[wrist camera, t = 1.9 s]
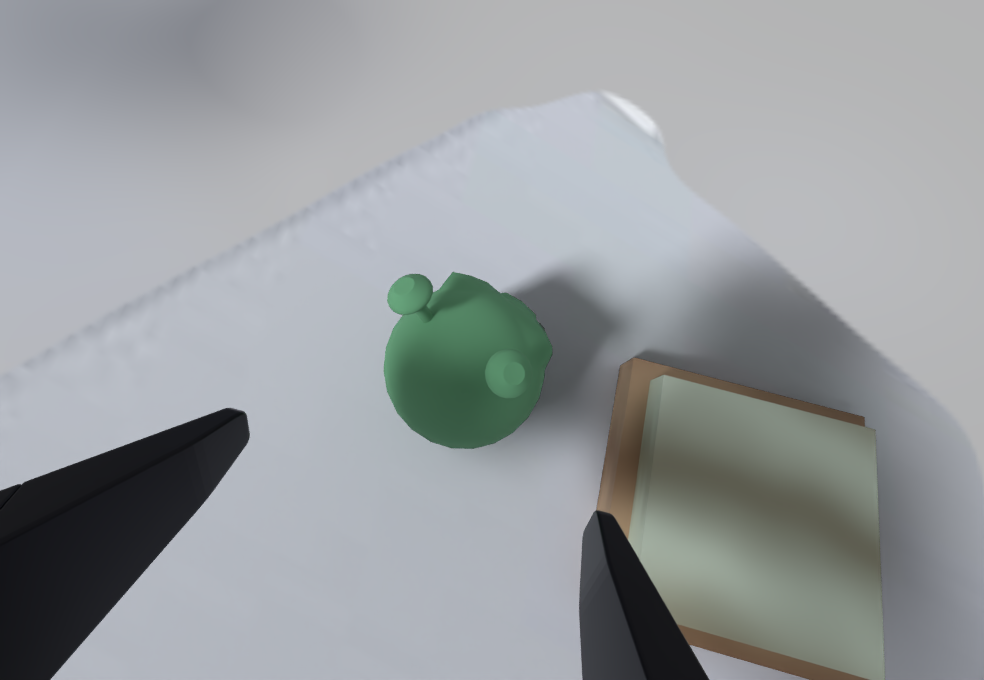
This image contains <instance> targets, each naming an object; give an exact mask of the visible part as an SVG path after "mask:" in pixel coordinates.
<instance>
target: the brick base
mask: <svg viewBox="0 0 984 680" xmlns="http://www.w3.org/2000/svg"><path fill="white" fill-rule="evenodd" d="M596 510H600V511H604V512H607V513H610V514H612V515H613V516H614V517H615V518H616V520H617V522H618V524H619V525H620V527H621V529H622V530H623V532H624V534H625V536H626V537H627V539H628V541H629V542H630V544H631V546H632V548H633V549H634V551H635V553H636V554H637V556H638V558H639V560H640V561H641V563H642V565H643V567H644V568H645V570H646V572H647V573H648V575H649V577H650V579H651V580H652V582H653V584H654V585H655V587H656V589H657V591H658V592H659V594H660V596H661V597H662V599H663V601H664V603H665V604H666V606H667V608H668V609H669V611H670V613H671V615H672V616H673V618H674V620H675V622H676V623H677V625H678V627H679V628H680V630H681V632H682V634H683V635H684V637H685V639H686V640H687V642H688V644H689V645H693V646H696V647H699V648H703V649H706V650H710V651H713V652H717V653H720V654H723V655H727V656H730V657H734V658H737V659H741V660H744V661H748V662H751V663H754V664H758V665H761V666H765V667H768V668H772V669H775V670H779V671H782V672H785V673H789V674H792V675H796V676H799V677H803V678H806V679H809V680H885V663H884V638H883V612H882V587H881V562H880V537H879V511H878V486H877V461H876V436H875V430H874V429H871V428H867V427H865V420H864V417H862V416H858V415H854V414H851V413H847V412H843V411H839V410H835V409H831V408H827V407H824V406H820V405H816V404H812V403H808V402H804V401H800V400H797V399H793V398H789V397H785V396H781V395H777V394H773V393H769V392H766V391H762V390H758V389H754V388H750V387H746V386H742V385H739V384H735V383H731V382H727V381H723V380H719V379H715V378H712V377H708V376H704V375H700V374H696V373H692V372H688V371H685V370H681V369H677V368H673V367H669V366H665V365H661V364H658V363H654V362H650V361H646V360H642V359H638V358H632V359H631V360H629V361H627V362H626V363H624V364H622V365H621V366H620V370H619V376H618V382H617V388H616V394H615V400H614V406H613V412H612V418H611V424H610V430H609V437H608V443H607V449H606V455H605V461H604V467H603V473H602V479H601V485H600V491H599V497H598V503H597V509H596Z"/></svg>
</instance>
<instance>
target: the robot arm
mask: <svg viewBox="0 0 984 680" xmlns="http://www.w3.org/2000/svg"><path fill="white" fill-rule="evenodd" d="M249 437H250V433H249V426H248V420H247V415H246V413H245V412H244V411H241V410H237V409H233V408H225V409H222V410H220V411H217V412H214V413H211V414H209V415H206V416H203V417H201V418H198V419H195V420H192V421H190V422H187V423H184V424H181V425H179V426H176V427H173V428H171V429H168V430H165V431H162V432H160V433H157V434H154V435H151V436H149V437H146V438H143V439H141V440H138V441H135V442H132V443H130V444H127V445H124V446H121V447H119V448H116V449H113V450H111V451H108V452H105V453H102V454H100V455H97V456H94V457H91V458H89V459H86V460H83V461H81V462H78V463H75V464H72V465H70V466H67V467H64V468H61V469H59V470H56V471H53V472H50V473H48V474H45V475H42V476H40V477H37V478H34V479H31V480H29V481H26V482H24V483H23V484H22V485H21V484H18V485H15V486H12V487H9V488H7V489H4V490H1V491H0V680H50V679H51V678H52V677H53V676H54V675H55V674H56V672H57V671H58V670H59V669H60V668H61V667H62V666H63V664H64V663H65V662H66V661H67V660H68V659H69V657H70V656H71V655H72V654H73V653H74V652H75V651H76V649H77V648H78V647H79V646H80V645H81V644H82V643H83V641H84V640H85V639H86V638H87V637H88V636H89V634H90V633H91V632H92V631H93V630H94V629H95V628H96V626H97V625H98V624H99V623H100V622H101V621H102V620H103V618H104V617H105V616H106V615H107V614H108V613H109V611H110V610H111V609H112V608H113V607H114V606H115V605H116V603H117V602H118V601H119V600H120V599H121V598H122V597H123V595H124V594H125V593H126V592H127V591H128V590H129V588H130V587H131V586H132V585H133V584H134V583H135V582H136V580H137V579H138V578H139V577H140V576H141V575H142V574H143V572H144V571H145V570H146V569H147V568H148V567H149V565H150V564H151V563H152V562H153V561H154V560H155V559H156V557H157V556H158V555H159V554H160V553H161V552H162V551H163V549H164V548H165V547H166V546H167V545H168V544H169V542H170V541H171V540H172V539H173V538H174V537H175V536H176V534H177V533H178V532H179V531H180V530H181V529H182V528H183V526H184V525H185V524H186V523H187V522H188V521H189V519H190V518H191V517H192V516H193V515H194V514H195V513H196V511H197V510H198V509H199V508H200V507H201V506H202V504H203V503H204V502H205V501H206V500H207V498H208V497H209V496H210V494H211V493H212V492H213V491H214V489H215V488H216V486H217V485H218V484H219V482H220V481H221V479H222V478H223V477H224V475H225V474H226V472H227V471H228V470H229V468H230V467H231V466H232V464H233V463H234V461H235V460H236V459H237V457H238V456H239V454H240V453H241V452H242V450H243V449H244V447H245V446H246V445H247V443H248V440H249ZM579 618H580V638H581V658H582V677H583V680H709V678H708V677H707V675H706V673H705V671H704V670H703V668H702V666H701V665H700V663H699V661H698V659H697V658H696V656H695V654H694V652H693V651H692V649H691V647H690V646H689V644H688V642H687V640H686V639H685V637H684V635H683V634H682V632H681V630H680V628H679V627H678V625H677V623H676V622H675V620H674V618H673V616H672V615H671V613H670V611H669V609H668V608H667V606H666V604H665V603H664V601H663V599H662V597H661V596H660V594H659V592H658V591H657V589H656V587H655V585H654V584H653V582H652V580H651V579H650V577H649V575H648V573H647V572H646V570H645V568H644V567H643V565H642V563H641V561H640V560H639V558H638V556H637V554H636V553H635V551H634V549H633V548H632V546H631V544H630V542H629V541H628V539H627V537H626V536H625V534H624V532H623V530H622V529H621V527H620V525H619V524H618V522H617V520H616V518H615V517H614V516H613V515H612V514H610V513H607V512H604V511H600V510H596V511H595V512H594V513H593V515H592V517H591V519H590V520H589V522H588V524H587V526H586V528H585V530H584V533H583V540H582V559H581V578H580V598H579Z"/></svg>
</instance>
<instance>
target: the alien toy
mask: <svg viewBox="0 0 984 680" xmlns="http://www.w3.org/2000/svg"><path fill="white" fill-rule="evenodd" d="M387 301H388V304H389V307H390V308H391V309H392V310H393V311H394V312H395V313H398V314H401V315H403V316H402V317H401V319H400V320H399V321H398V323H397V324H396V325H395V327H394V328H393V331H392V333H391V336H390V339H389V341H388V344H387V346H386V352H385V362H384V375H385V381H386V387H387V392H388V394H389V396H390V399H391V401H392V403H393V405H394V407H395V409H396V411H397V413H398V414H399V416H400V417H401V418H402V419H403V420H404V421H405V422H406V423H407V425H408V426H409V427H410V428H411V429H412V430H413V431H415V432H417V433H418V434H420V435H421V436H423V437H424V438H426V439H427V440H429V441H431V442H433V443H436V444H440V445H443V446H446V447H449V448H465V449H474V448H478V447H482V446H486V445H490V444H494V443H496V442H497V441H499V440H501V439H503V438H504V437H506V436H508V435H510V434H511V433H513V432H514V431H515V430H516V429H517V428H518V427H519V426H520V425H521V424H522V423H523V422H524V421H525V420H526V419H527V418H528V417H529V415H530V413H531V412H532V410H533V408H534V406H535V404H536V403H537V401H538V399H539V397H540V393H541V389H542V385H543V381H544V376H545V374H544V370H545V368H546V366H547V364H548V362H549V360H550V358H551V356H552V345H551V343H550V341H549V339H548V337H547V335H546V332H545V330H544V327H543V326H542V325H541V324H540V323H538V322H537V320H536V315H535V314H534V313H533V312H532V311H531V310H530V309H529V308H528V307H527V306H526V305H525V304H524V303H523V302H522V301H520V300H518V299H516V298H515V297H513V296H511V295H509V294H508V293H499V292H498V291H497V290H496V289H494V288H493V287H492V286H491V285H490V284H489V283H487V282H485V281H482V280H480V279H477V278H475V277H472V276H469V275H465V274H460V273H455V272H452V274H451V275H450V276H449V277H448V279H447V280H446V281H445V283H444V284H443V285H442V286H441V288H440V289H439V290H437V291H435V292H433V286H432V284H431V282H430V280H429V279H428V278H426V277H425V276H423V275H420V274H409V275H405V276H403V277H401V278H399V279H398V280H397V281H396V282H395V283H394V284H393V285H392V286H391V288H390V290H389V293H388V300H387Z"/></svg>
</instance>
